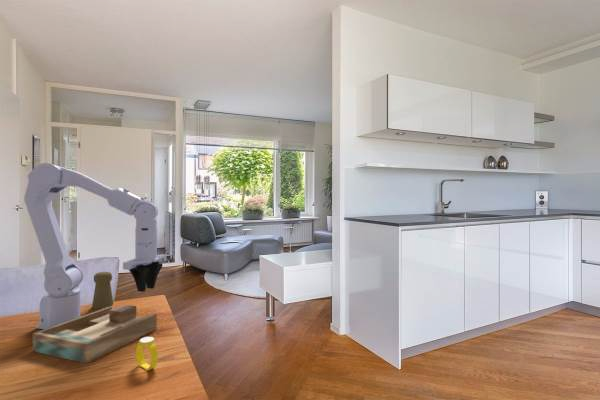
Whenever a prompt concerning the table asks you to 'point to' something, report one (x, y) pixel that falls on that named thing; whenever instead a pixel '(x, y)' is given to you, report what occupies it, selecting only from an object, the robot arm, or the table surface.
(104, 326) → the board
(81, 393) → the table surface
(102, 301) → the cork
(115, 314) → the walnut block
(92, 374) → the table surface
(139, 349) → the watch
